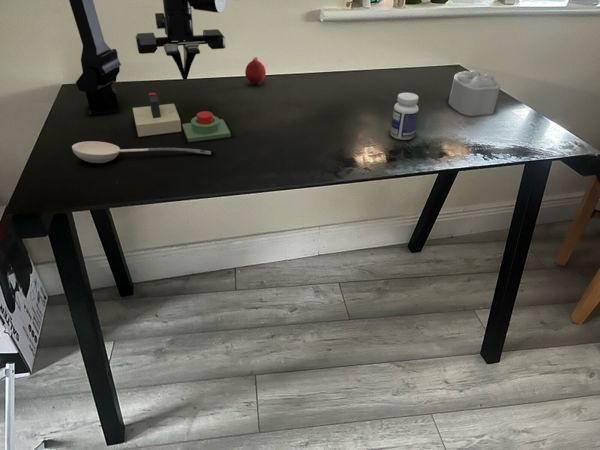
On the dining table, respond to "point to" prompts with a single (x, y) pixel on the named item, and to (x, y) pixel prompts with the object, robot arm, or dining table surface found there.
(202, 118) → the button
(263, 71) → the onion
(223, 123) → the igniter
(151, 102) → the hob knob
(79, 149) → the ladle
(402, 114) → the pill bottle
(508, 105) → the dining table surface
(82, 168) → the dining table surface
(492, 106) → the lumpy-topped squat cylinder
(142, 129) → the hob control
